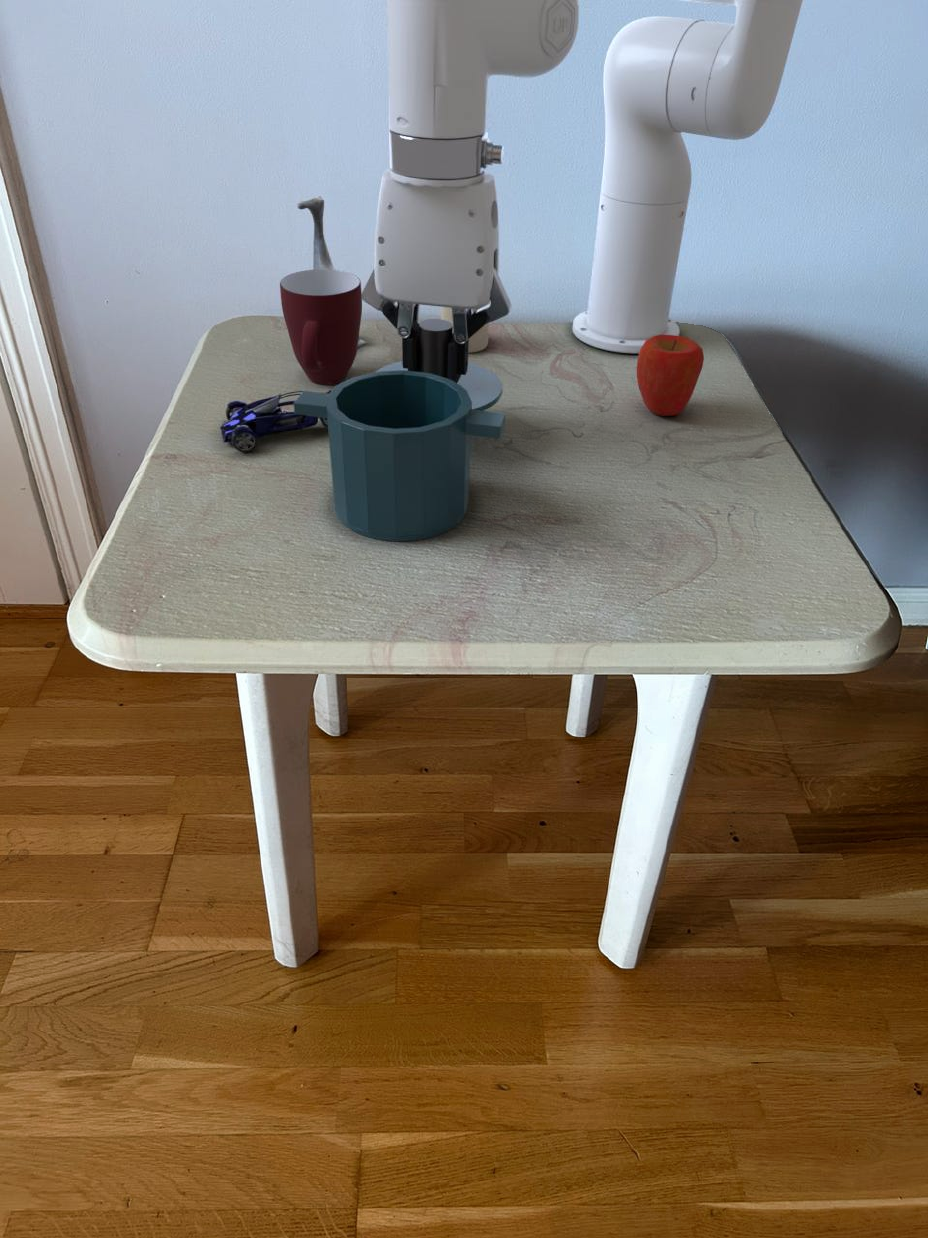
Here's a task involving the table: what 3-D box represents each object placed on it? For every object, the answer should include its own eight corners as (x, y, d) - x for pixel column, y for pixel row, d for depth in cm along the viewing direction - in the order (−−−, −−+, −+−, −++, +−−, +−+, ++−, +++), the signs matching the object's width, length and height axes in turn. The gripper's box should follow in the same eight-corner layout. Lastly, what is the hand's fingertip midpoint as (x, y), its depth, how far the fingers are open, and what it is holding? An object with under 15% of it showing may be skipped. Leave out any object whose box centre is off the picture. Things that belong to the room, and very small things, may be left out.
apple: (618, 408, 91) (628, 336, 86) (655, 392, 94) (667, 322, 90) (667, 430, 88) (681, 357, 83) (705, 412, 91) (720, 341, 86)
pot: (328, 461, 81) (320, 360, 75) (508, 484, 79) (515, 381, 73) (284, 526, 72) (271, 418, 67) (485, 554, 70) (490, 444, 64)
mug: (361, 404, 90) (356, 305, 84) (280, 403, 90) (269, 304, 84) (367, 362, 99) (363, 269, 92) (294, 361, 98) (285, 268, 92)
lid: (388, 362, 88) (386, 295, 84) (511, 376, 87) (516, 308, 83) (350, 415, 79) (346, 342, 75) (488, 432, 77) (492, 358, 73)
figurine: (373, 361, 99) (367, 217, 90) (315, 365, 98) (303, 220, 88) (358, 325, 107) (351, 190, 98) (304, 329, 106) (292, 192, 97)
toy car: (224, 455, 81) (218, 416, 79) (218, 424, 86) (212, 386, 84) (354, 440, 84) (352, 401, 82) (341, 411, 89) (339, 373, 87)
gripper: (546, 154, 72) (529, 372, 84) (351, 140, 75) (361, 353, 86) (533, 174, 66) (516, 405, 78) (322, 158, 69) (336, 384, 80)
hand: (435, 376), depth 82 cm, fingers closed on lid, 3 cm apart
